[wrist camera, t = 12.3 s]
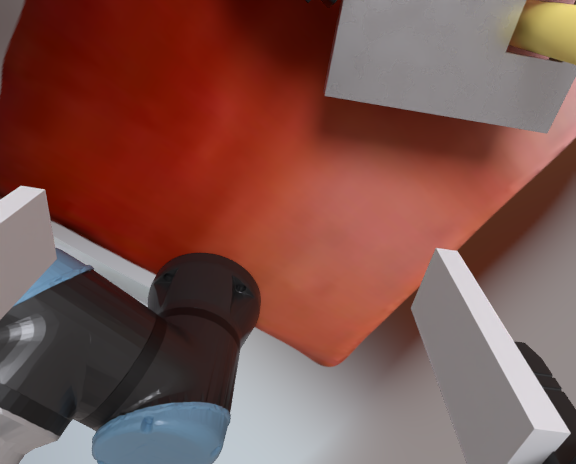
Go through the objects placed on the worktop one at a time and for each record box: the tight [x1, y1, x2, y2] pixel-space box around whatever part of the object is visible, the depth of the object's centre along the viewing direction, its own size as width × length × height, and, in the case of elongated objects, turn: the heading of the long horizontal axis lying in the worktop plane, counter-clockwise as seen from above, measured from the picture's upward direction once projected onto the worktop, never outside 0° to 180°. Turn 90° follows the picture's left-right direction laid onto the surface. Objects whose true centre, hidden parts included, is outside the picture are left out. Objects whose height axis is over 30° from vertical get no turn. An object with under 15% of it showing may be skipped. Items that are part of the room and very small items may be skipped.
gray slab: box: [323, 0, 576, 133], centre depth 34 cm, size 16×20×8 cm
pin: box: [509, 0, 576, 65], centre depth 31 cm, size 4×4×14 cm
